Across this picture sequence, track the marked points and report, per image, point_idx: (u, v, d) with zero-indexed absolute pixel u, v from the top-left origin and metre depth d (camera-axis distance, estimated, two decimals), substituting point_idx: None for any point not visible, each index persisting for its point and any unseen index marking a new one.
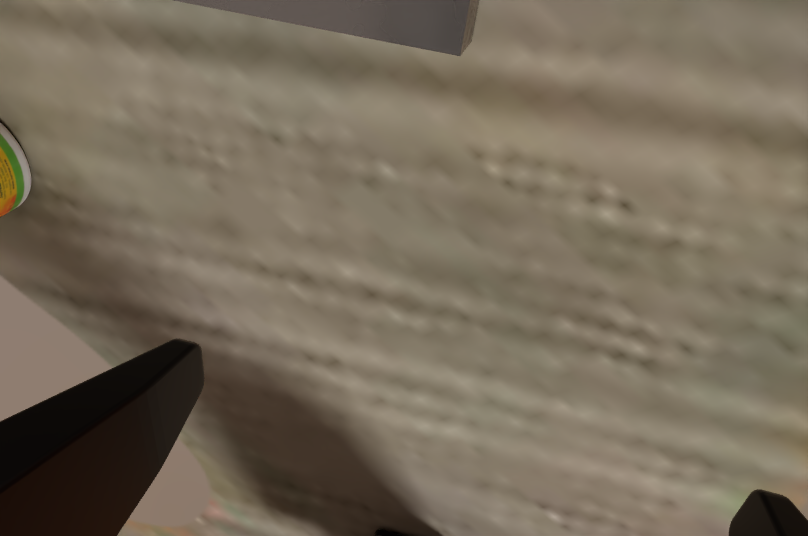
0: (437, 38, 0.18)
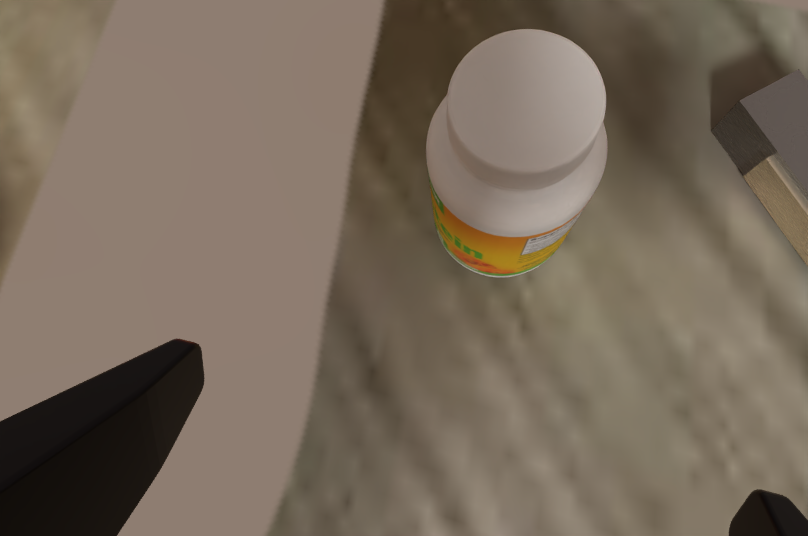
0: None
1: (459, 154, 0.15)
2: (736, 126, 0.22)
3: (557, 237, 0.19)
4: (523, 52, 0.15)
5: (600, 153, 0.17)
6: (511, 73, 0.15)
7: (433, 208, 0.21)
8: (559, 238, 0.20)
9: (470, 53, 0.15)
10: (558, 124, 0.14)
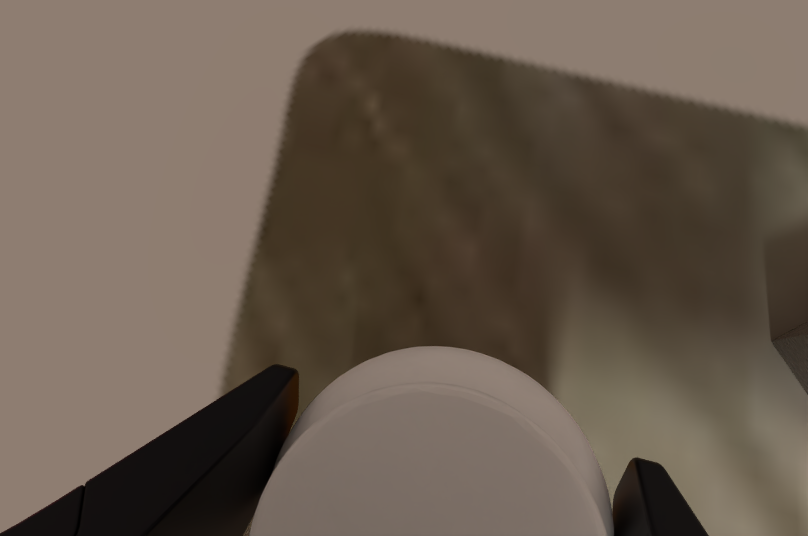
0: None
1: None
2: None
3: None
4: (422, 449, 0.06)
5: None
6: (393, 503, 0.06)
7: None
8: None
9: (304, 442, 0.07)
10: None
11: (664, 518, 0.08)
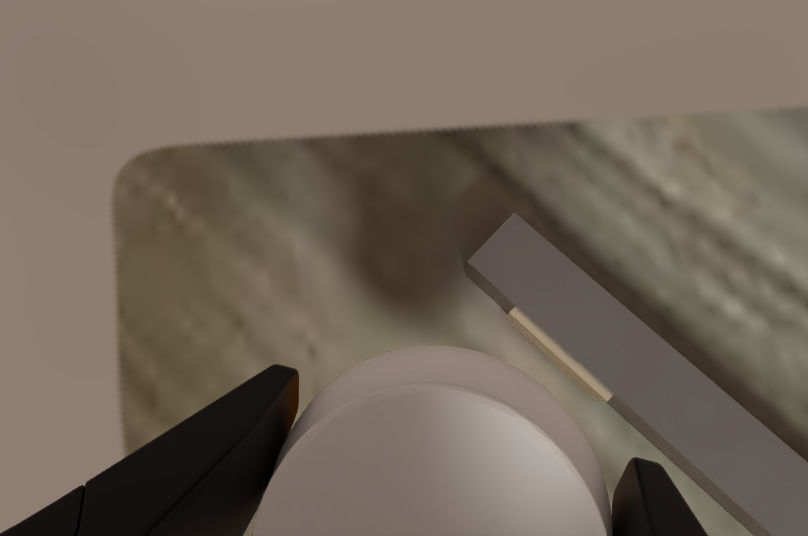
0: None
1: None
2: (478, 278, 0.22)
3: None
4: (424, 448, 0.07)
5: None
6: (394, 502, 0.06)
7: None
8: None
9: (306, 441, 0.07)
10: None
11: (663, 518, 0.08)
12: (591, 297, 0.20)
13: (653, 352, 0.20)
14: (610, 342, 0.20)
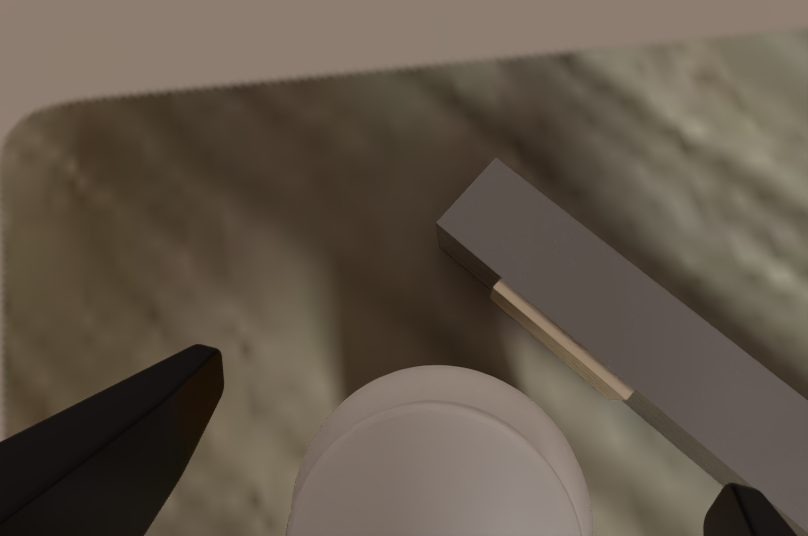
0: None
1: None
2: (453, 246, 0.17)
3: None
4: (429, 457, 0.08)
5: None
6: (405, 502, 0.08)
7: None
8: None
9: (332, 450, 0.08)
10: None
11: None
12: (600, 263, 0.15)
13: (685, 332, 0.15)
14: (627, 321, 0.15)
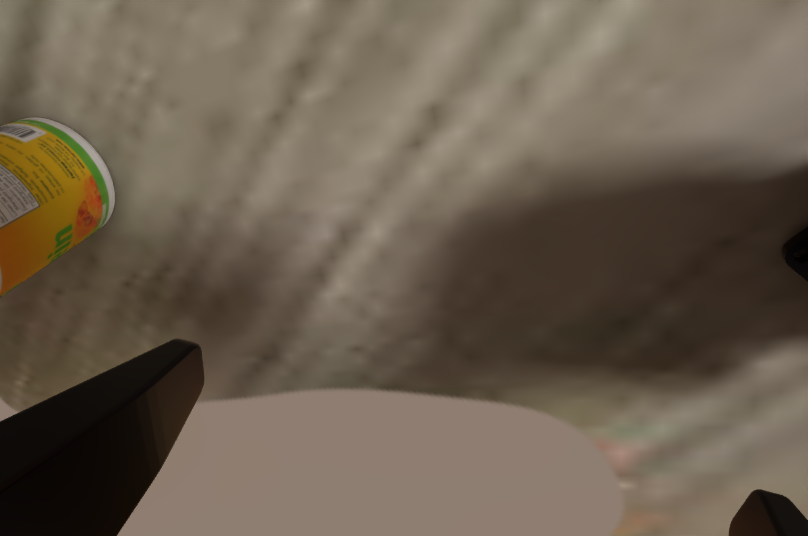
0: None
1: None
2: None
3: (4, 183, 0.21)
4: None
5: None
6: None
7: None
8: (11, 173, 0.21)
9: None
10: None
11: None
12: None
13: None
14: None
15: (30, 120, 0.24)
